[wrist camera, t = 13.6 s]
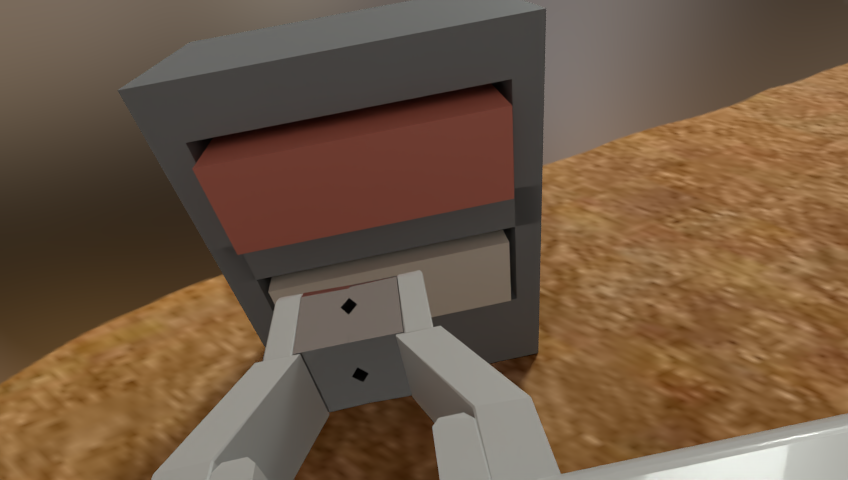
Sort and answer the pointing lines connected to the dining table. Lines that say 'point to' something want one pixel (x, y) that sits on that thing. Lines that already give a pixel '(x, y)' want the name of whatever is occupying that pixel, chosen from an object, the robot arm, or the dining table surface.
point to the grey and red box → (349, 90)
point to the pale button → (440, 265)
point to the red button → (360, 168)
